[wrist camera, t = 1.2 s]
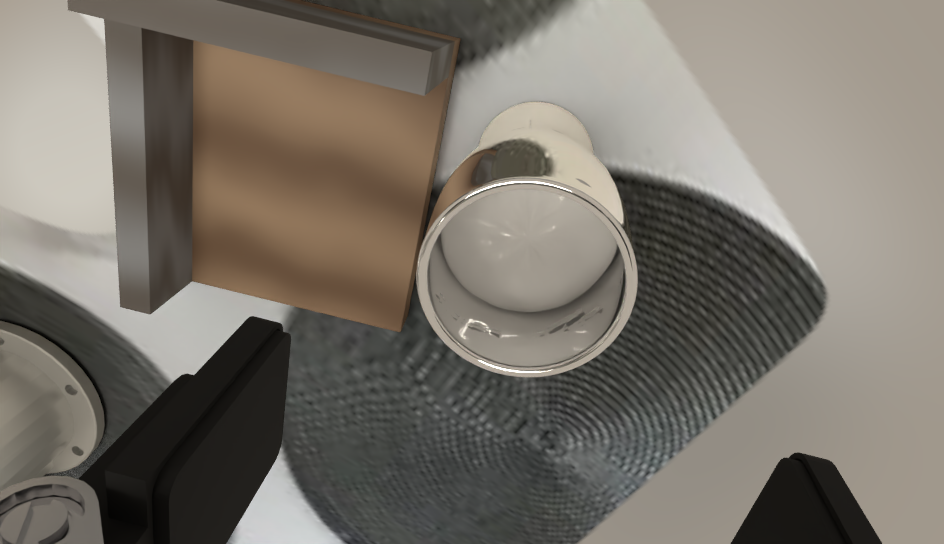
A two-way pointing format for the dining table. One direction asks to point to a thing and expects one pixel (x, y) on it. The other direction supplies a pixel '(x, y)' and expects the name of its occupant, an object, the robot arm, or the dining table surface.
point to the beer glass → (529, 249)
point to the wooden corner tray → (272, 151)
